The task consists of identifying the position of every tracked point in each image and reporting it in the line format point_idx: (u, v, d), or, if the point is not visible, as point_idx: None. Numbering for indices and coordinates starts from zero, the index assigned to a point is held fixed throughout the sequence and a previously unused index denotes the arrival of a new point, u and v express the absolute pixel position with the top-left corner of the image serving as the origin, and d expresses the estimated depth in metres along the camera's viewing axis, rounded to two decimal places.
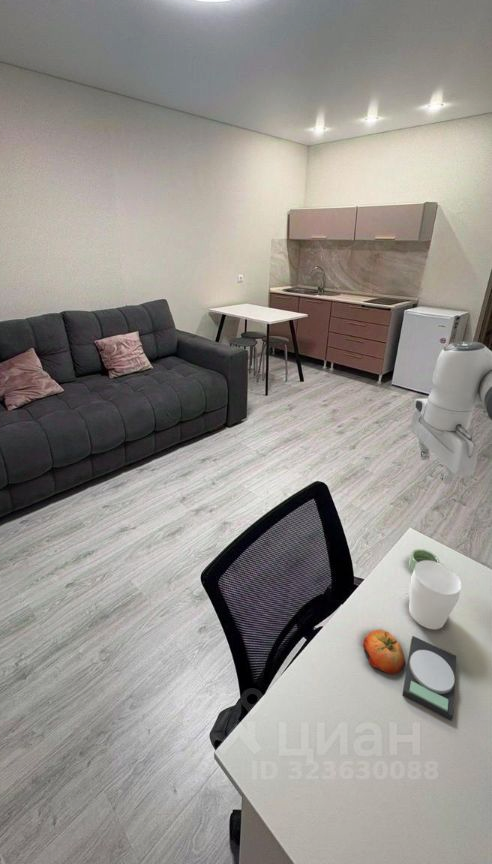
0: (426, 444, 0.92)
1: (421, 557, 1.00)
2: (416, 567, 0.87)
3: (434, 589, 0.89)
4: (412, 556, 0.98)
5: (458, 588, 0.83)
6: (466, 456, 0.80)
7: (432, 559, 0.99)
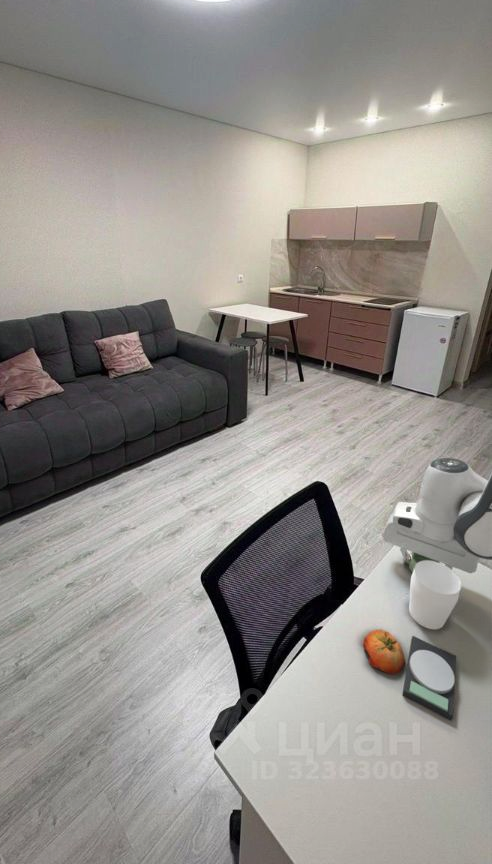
0: (415, 551, 0.96)
1: (421, 557, 1.00)
2: (416, 567, 0.87)
3: (434, 589, 0.89)
4: (412, 556, 0.98)
5: (458, 588, 0.83)
6: None
7: (432, 559, 0.99)
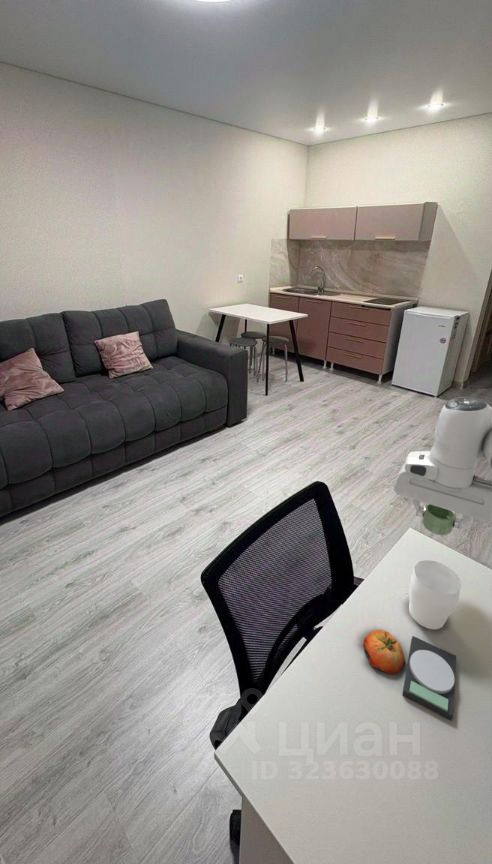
0: (430, 502, 0.90)
1: (435, 510, 0.94)
2: (416, 567, 0.87)
3: (434, 589, 0.89)
4: (426, 509, 0.92)
5: (458, 588, 0.83)
6: None
7: (447, 512, 0.92)
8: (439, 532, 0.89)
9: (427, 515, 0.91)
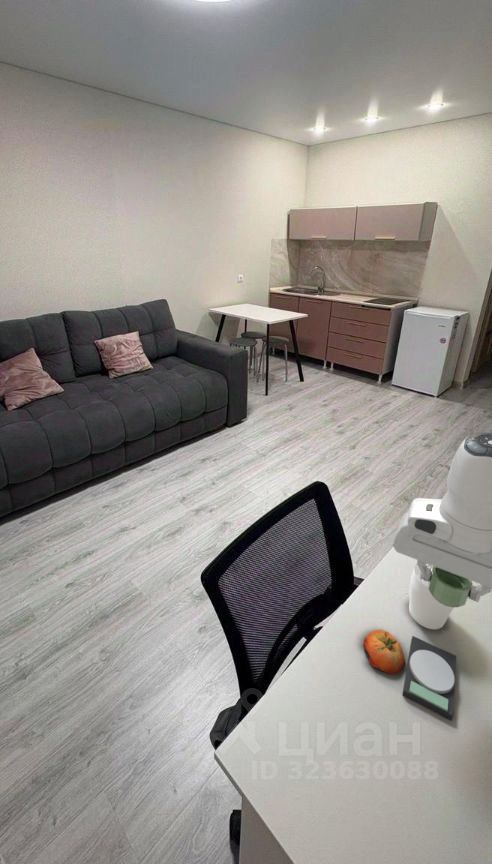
0: (439, 566, 0.70)
1: (445, 573, 0.74)
2: (416, 567, 0.87)
3: None
4: (434, 572, 0.72)
5: None
6: None
7: None
8: (450, 604, 0.70)
9: (435, 581, 0.71)
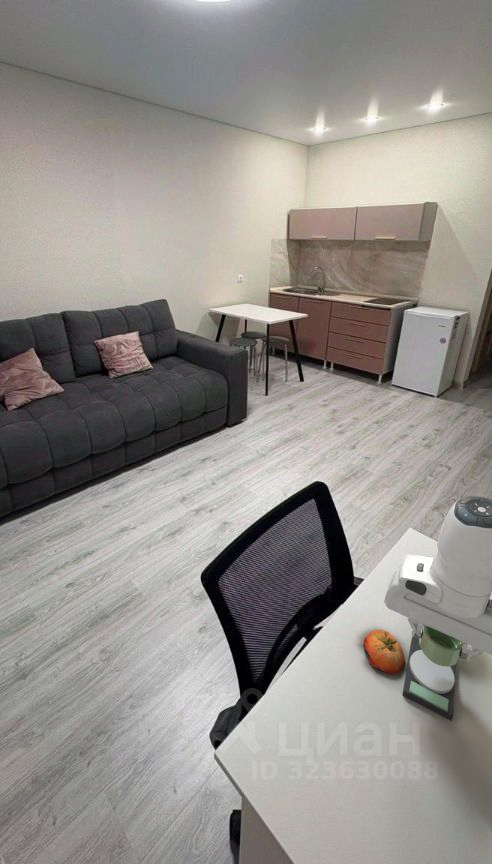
0: (430, 625, 0.70)
1: None
2: None
3: None
4: (425, 630, 0.71)
5: None
6: None
7: None
8: (441, 664, 0.69)
9: (426, 640, 0.70)
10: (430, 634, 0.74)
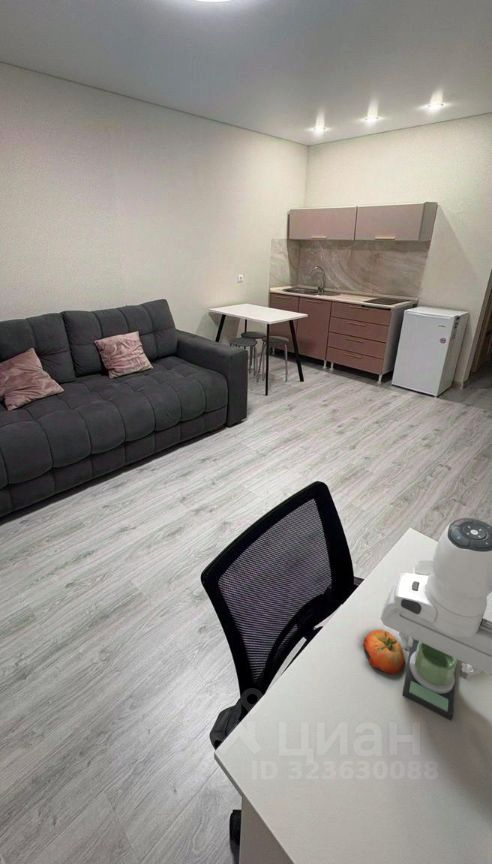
0: (425, 642, 0.71)
1: (431, 647, 0.76)
2: (416, 567, 0.87)
3: None
4: (419, 648, 0.73)
5: None
6: None
7: None
8: (435, 682, 0.71)
9: (421, 658, 0.72)
10: (425, 652, 0.76)
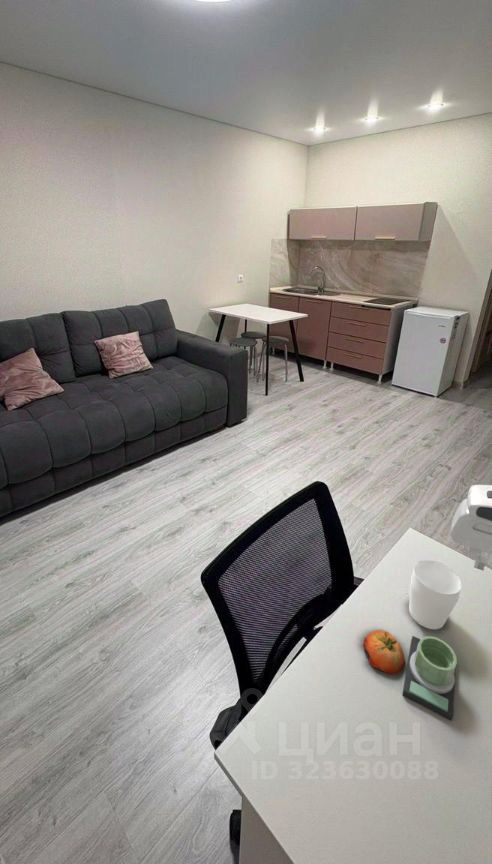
0: None
1: (431, 647, 0.76)
2: (416, 567, 0.87)
3: (434, 589, 0.89)
4: (419, 648, 0.73)
5: (458, 588, 0.83)
6: None
7: (446, 652, 0.74)
8: (435, 682, 0.71)
9: (421, 658, 0.72)
10: (425, 652, 0.76)
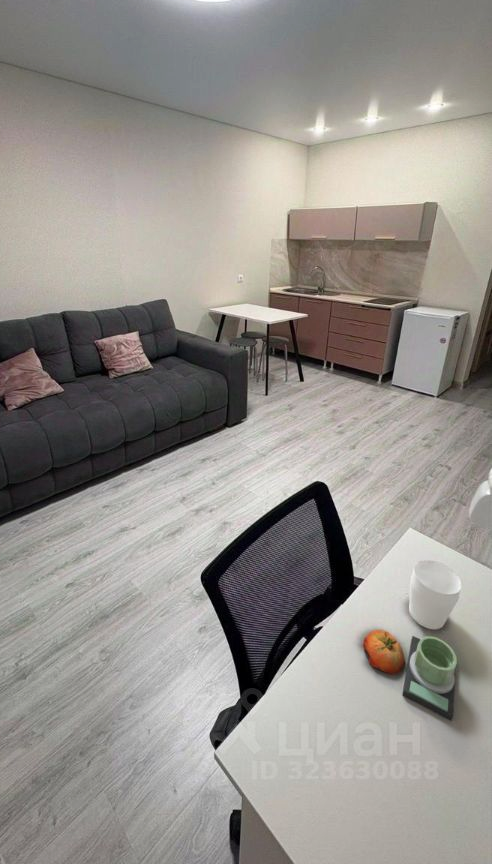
0: None
1: (431, 647, 0.76)
2: (416, 567, 0.87)
3: (434, 589, 0.89)
4: (419, 648, 0.73)
5: (458, 588, 0.83)
6: None
7: (446, 652, 0.74)
8: (435, 682, 0.71)
9: (421, 658, 0.72)
10: (425, 652, 0.76)
